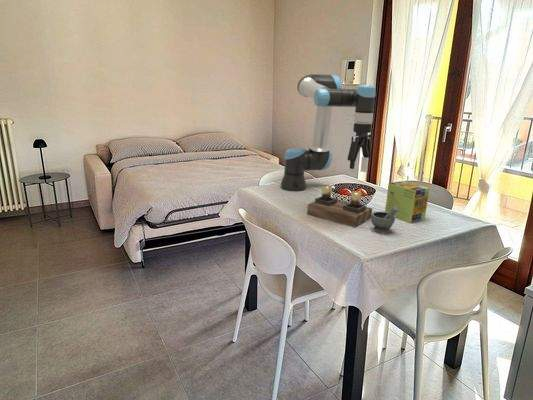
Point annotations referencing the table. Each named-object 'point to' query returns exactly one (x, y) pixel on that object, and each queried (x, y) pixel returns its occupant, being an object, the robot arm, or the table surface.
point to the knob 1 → (326, 191)
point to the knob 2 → (355, 197)
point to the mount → (339, 211)
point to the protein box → (407, 200)
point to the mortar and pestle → (383, 220)
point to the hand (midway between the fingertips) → (357, 173)
